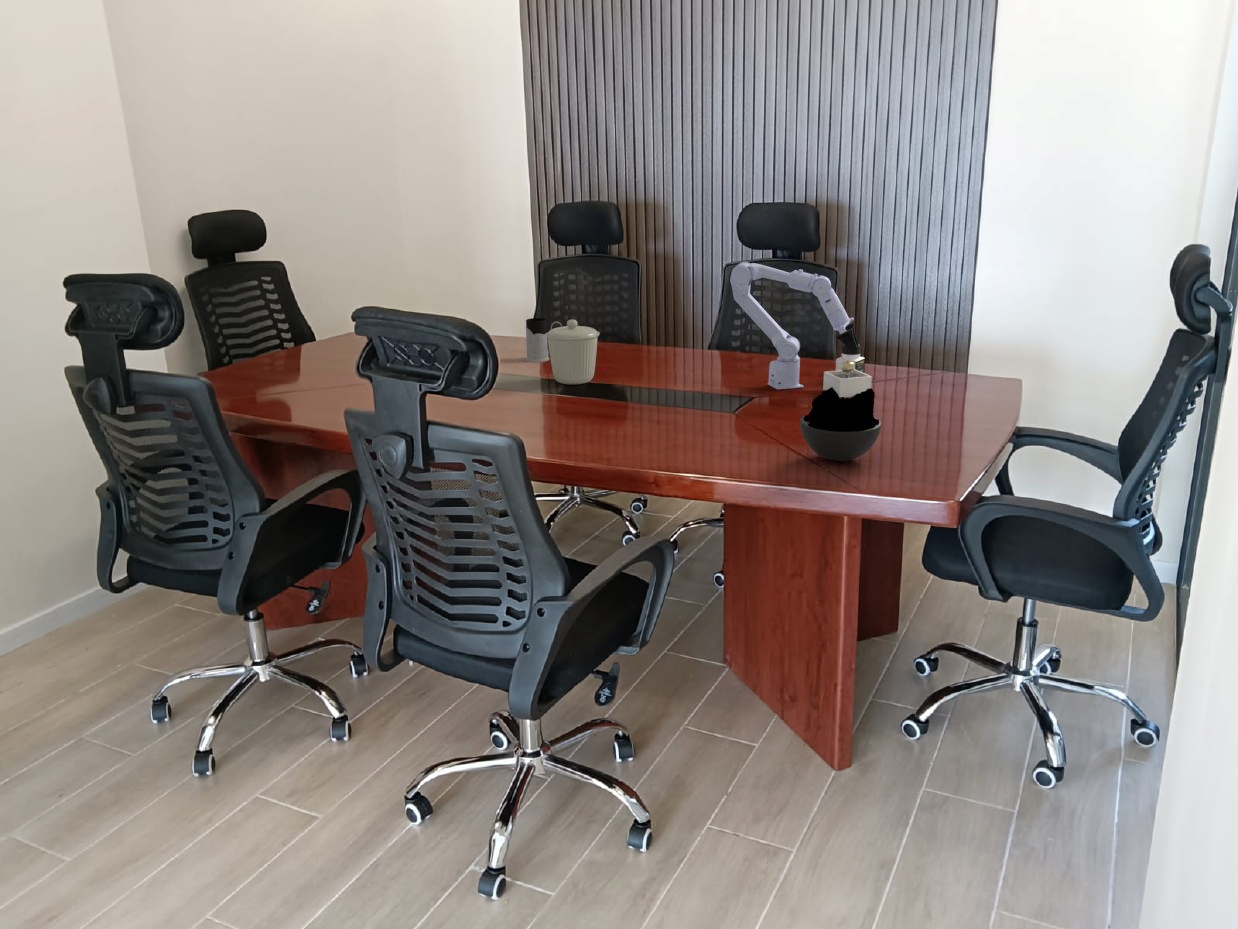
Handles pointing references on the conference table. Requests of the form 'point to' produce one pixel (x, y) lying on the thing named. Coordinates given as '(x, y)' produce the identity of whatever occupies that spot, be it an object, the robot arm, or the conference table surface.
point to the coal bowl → (841, 425)
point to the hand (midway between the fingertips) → (855, 348)
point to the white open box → (847, 383)
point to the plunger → (847, 370)
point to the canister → (573, 353)
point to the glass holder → (537, 340)
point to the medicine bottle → (851, 359)
